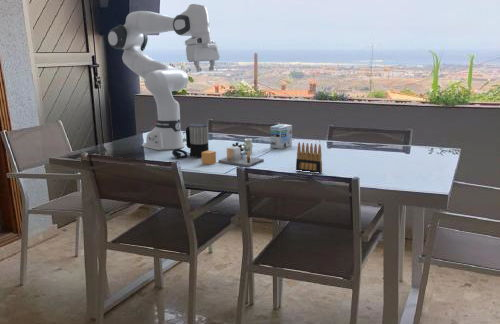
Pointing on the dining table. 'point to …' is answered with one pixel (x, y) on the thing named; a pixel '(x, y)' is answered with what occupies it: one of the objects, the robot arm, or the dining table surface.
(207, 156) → the orange wooden block
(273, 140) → the light bulb box
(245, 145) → the valve
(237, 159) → the junction plate
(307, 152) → the ammunition clip
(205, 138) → the milk frother
